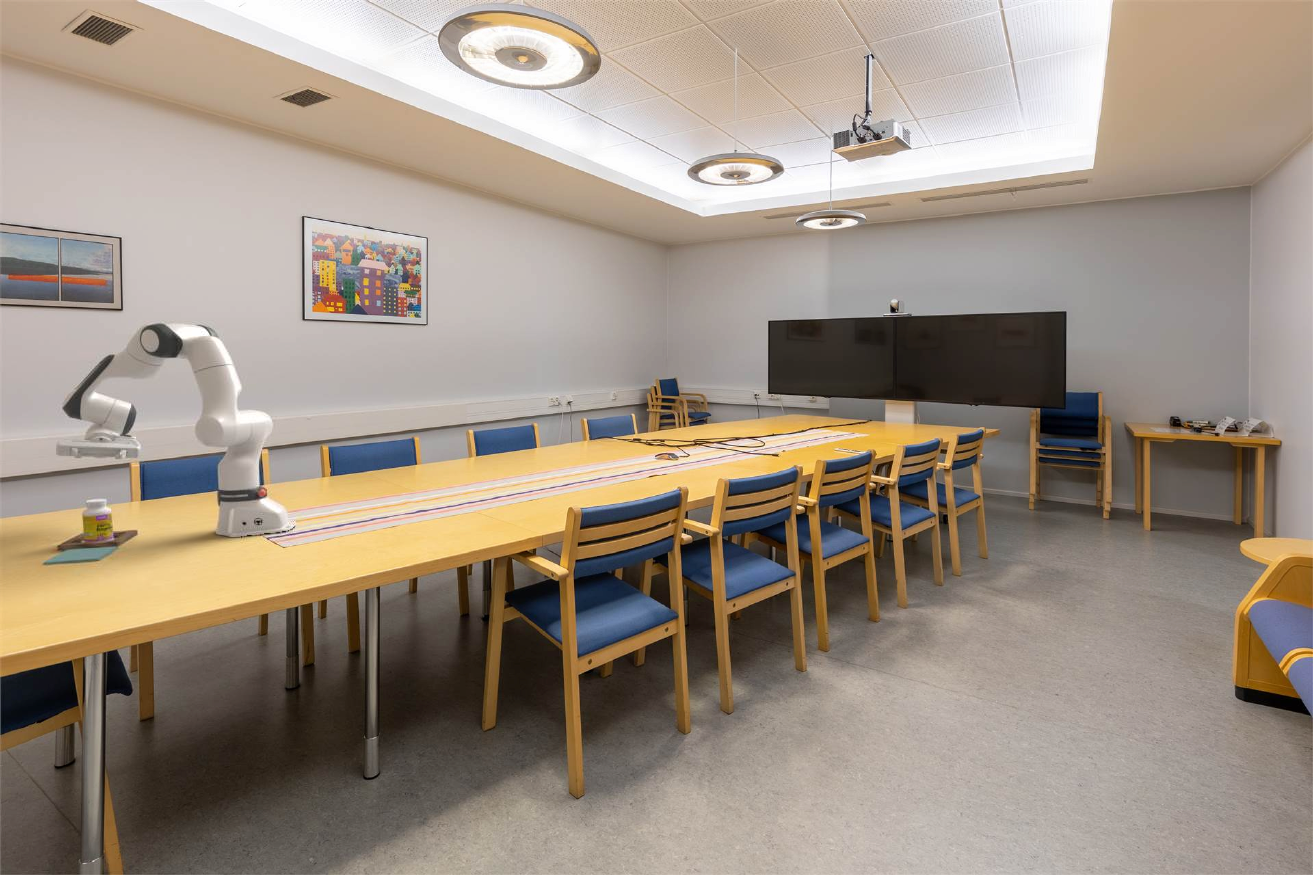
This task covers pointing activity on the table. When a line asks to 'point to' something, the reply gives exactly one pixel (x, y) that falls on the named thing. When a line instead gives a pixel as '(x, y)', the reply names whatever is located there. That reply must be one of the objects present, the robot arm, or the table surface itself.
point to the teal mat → (81, 555)
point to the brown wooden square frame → (78, 544)
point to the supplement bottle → (97, 521)
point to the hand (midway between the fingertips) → (98, 456)
